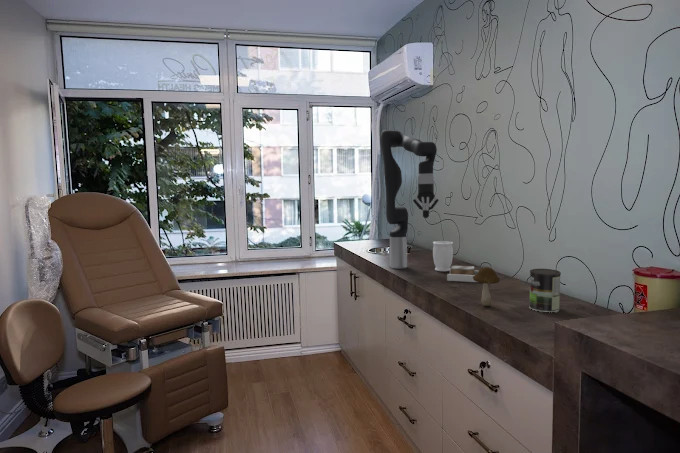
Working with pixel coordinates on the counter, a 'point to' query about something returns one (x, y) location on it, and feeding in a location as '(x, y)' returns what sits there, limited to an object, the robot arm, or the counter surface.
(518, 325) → the counter surface
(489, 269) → the mushroom
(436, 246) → the jar
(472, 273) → the brown and white block
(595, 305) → the counter surface
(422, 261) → the counter surface
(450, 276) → the bay
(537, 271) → the coffee can
